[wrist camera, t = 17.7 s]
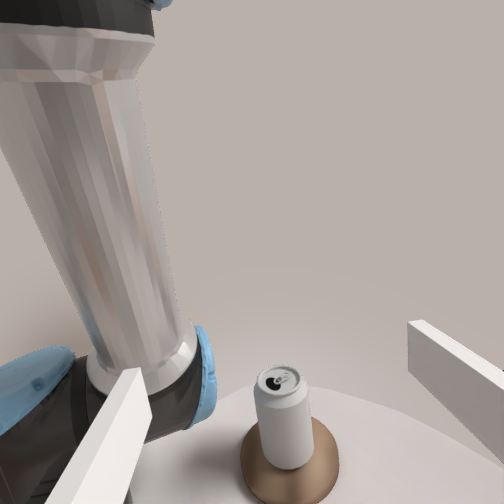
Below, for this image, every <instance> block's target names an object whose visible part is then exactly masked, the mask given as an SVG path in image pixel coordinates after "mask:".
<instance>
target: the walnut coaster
mask: <svg viewBox="0 0 504 504" xmlns="http://www.w3.org/2000/svg"><path fill="white" fill-rule="evenodd" d="M311 422H312V432H313V441H314V450H313V454H312V456H311V458H310V459H309V461H308V462H307V463H305V464H304V465H302V466H301V467H298V468H295V469H281V468H278V467H275V466H274V465H272V464H271V463H270V462H268V460H267V459H266V457H265V456H264V453H263V450H262V445H261V438H260V431H259V425H258V422H257V423H256V424H255V425H254V426H253V427H252V428H251V429H250V430H249V432H248V433H247V435H246V436H245V438H244V441H243V444H242V447H241V465H242V471H243V475H244V479H245V481H246V483H247V485H248V487H249V489H250V490H251V491H252V492H253V494H254V495H255V496H256V497H257V498H258V499H260V500H261V501H262V502H264V503H265V504H317V503H319V502H320V501H322V500H323V499H324V498H325V497H326V496H327V495H328V494H329V493H330V491H331V490H332V488H333V487H334V485H335V483H336V480H337V477H338V473H339V457H338V449H337V444H336V442H335V439H334V437H333V435H332V434H331V432H330V431H329V430H328V429H327V427H326V426H325V425H323V424H322V423H321V422H320V421H318V420H317V419H315V418H313V417H311Z"/></svg>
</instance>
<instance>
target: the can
mask: <svg viewBox="0 0 504 504" xmlns="http://www.w3.org/2000/svg"><path fill="white" fill-rule="evenodd" d="M254 398H255V405H256V412H257V418H258V425H259V431H260V438H261V445H262V450H263V453H264V456H265V457H266V459H267V460H268V462H270V463H271V464H272V465H274V466H275V467H278V468H281V469H295V468H298V467H301V466H302V465H304V464H305V463H307V462H308V461H309V459H310V458H311V456H312V454H313V450H314V441H313V432H312V422H311V413H310V403H309V394H308V385H307V383H306V381H305V379H304V378H303V377H302V375H301V373H300V372H299V371H298V370H297V369H296V368H294V367H291V366H289V365H274V366H270V367H268V368H266V369H264V370H263V371H262V372H261V373H260V374H259V376H258V377H257V383H256V384H255V386H254Z"/></svg>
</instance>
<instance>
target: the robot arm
mask: <svg viewBox="0 0 504 504" xmlns="http://www.w3.org/2000/svg"><path fill="white" fill-rule="evenodd" d="M172 1H173V0H0V147H1V149H2V152H3V154H4V156H5V158H6V160H7V162H8V164H9V166H10V169H11V171H12V173H13V175H14V177H15V179H16V181H17V184H18V185H19V188H20V190H21V192H22V194H23V196H24V198H25V201H26V203H27V205H28V207H29V209H30V211H31V213H32V215H33V217H34V220H35V221H36V224H37V226H38V228H39V230H40V233H41V235H42V237H43V239H44V241H45V243H46V245H47V247H48V250H49V252H50V254H51V256H52V258H53V260H54V262H55V264H56V267H57V269H58V271H59V273H60V275H61V277H62V279H63V281H64V284H65V286H66V288H67V290H68V292H69V294H70V296H71V299H72V301H73V303H74V305H75V307H76V309H77V311H78V313H79V316H80V318H81V320H82V322H83V324H84V326H85V328H86V330H87V333H88V334H89V337H90V339H91V341H92V343H93V345H92V347H91V349H90V351H89V355H87V356H84V357H80V358H76V356H75V352H73V351H72V350H71V349H70V348H69V347H67V346H52V347H47V348H44V349H40V350H38V351H34V352H32V353H29V354H27V355H25V356H22V357H20V358H17V359H15V360H13V361H11V362H9V363H7V364H6V365H3V366H2V367H0V504H132V497H131V493H130V489H129V485H130V482H131V479H132V476H133V473H134V470H135V467H136V464H137V461H138V458H139V455H140V452H141V449H142V446H143V444H146V443H148V442H151V441H153V440H156V439H158V438H161V437H164V436H166V435H169V434H171V433H174V432H176V431H179V430H187V429H189V428H191V426H193V425H194V424H196V423H198V422H200V421H203V420H205V419H207V418H208V417H209V416H210V415H211V414H212V412H213V411H214V409H215V405H216V399H217V382H216V377H215V374H214V372H215V365H214V359H213V354H212V350H211V346H210V342H209V339H208V337H207V334H206V332H205V330H204V329H203V328H202V327H200V326H193V324H192V323H191V322H190V320H189V319H188V318H187V317H186V316H184V315H183V314H181V313H179V310H178V305H177V299H176V294H175V289H174V283H173V278H172V272H171V267H170V261H169V256H168V250H167V245H166V240H165V234H164V228H163V223H162V217H161V212H160V206H159V201H158V196H157V190H156V185H155V179H154V173H153V168H152V162H151V157H150V151H149V146H148V140H147V135H146V130H145V124H144V119H143V113H142V108H141V103H140V97H139V91H138V86H137V80H136V76H137V73H138V70H139V67H140V66H141V64H142V63H143V62H144V60H145V59H146V57H147V56H148V54H149V53H150V51H151V50H152V48H153V47H154V45H155V37H154V30H153V22H152V15H151V10H158V11H160V10H161V9H162V8H164V7H168V6H169V5H170V4H171V3H172ZM407 323H408V324H407V329H408V371H409V372H410V373H411V374H412V375H413V376H414V377H415V378H416V379H417V380H418V381H419V382H420V383H421V384H422V385H423V386H424V387H425V388H426V389H428V391H429V392H430V393H432V394H433V395H434V396H435V397H436V398H437V399H438V400H439V401H440V402H441V403H442V404H443V405H444V406H445V407H446V408H447V409H448V410H449V411H450V412H451V413H452V414H453V415H454V416H455V417H456V418H457V419H458V420H459V421H460V422H461V423H462V424H463V425H464V426H465V427H466V428H468V429H469V430H470V431H471V432H472V433H473V434H474V435H475V436H476V437H477V438H478V439H479V440H480V441H481V442H482V443H483V444H484V445H485V446H486V447H487V448H488V449H489V450H490V451H491V452H492V453H493V454H494V455H495V456H496V457H497V458H498V459H499V460H500V461H501V462H502V463H504V370H500V369H499V368H497V367H496V366H494V365H492V364H491V363H489V362H488V361H486V360H484V359H483V358H481V357H480V356H478V355H477V354H475V353H474V352H472V351H470V350H469V349H467V348H466V347H464V346H463V345H461V344H459V343H458V342H456V341H455V340H453V339H452V338H450V337H449V336H447V335H445V334H444V333H442V332H441V331H439V330H437V329H436V328H435V327H433V326H431V325H430V324H428V323H427V322H425V321H424V320H417V321H411V322H407Z"/></svg>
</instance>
